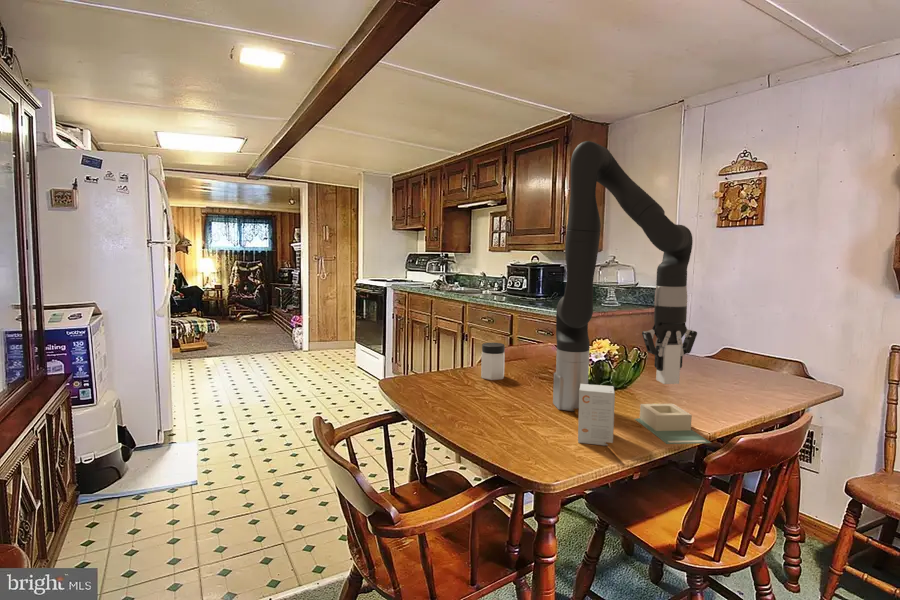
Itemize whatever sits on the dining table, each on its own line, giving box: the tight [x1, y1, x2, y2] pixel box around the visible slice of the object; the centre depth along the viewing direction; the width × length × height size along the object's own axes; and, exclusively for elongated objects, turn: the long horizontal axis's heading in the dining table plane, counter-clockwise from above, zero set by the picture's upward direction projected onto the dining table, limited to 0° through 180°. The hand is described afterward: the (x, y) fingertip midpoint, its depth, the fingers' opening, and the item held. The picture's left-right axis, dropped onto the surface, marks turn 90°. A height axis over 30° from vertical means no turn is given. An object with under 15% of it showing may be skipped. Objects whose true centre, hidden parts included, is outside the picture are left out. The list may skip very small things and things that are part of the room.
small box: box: [577, 383, 616, 447], centre depth 116 cm, size 8×6×13 cm
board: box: [634, 417, 712, 445], centre depth 121 cm, size 11×17×1 cm, turn 4°
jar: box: [480, 342, 506, 381], centre depth 174 cm, size 9×8×12 cm
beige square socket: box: [639, 402, 693, 431], centre depth 125 cm, size 9×10×4 cm
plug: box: [655, 342, 681, 385], centre depth 124 cm, size 4×5×10 cm
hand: (668, 369), depth 124 cm, fingers closed on plug, 4 cm apart
